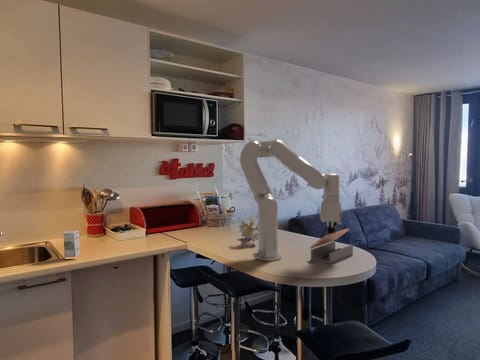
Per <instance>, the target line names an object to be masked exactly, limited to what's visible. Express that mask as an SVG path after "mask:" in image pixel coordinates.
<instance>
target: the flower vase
mask: <svg viewBox="0 0 480 360" xmlns="http://www.w3.org/2000/svg"><path fill="white" fill-rule="evenodd" d="M246 216H247V218H248V220H249V223H246V221H245V220H243V219H241V224H240V225H238V228H239V233H241V235H240V236H241V237H242V238H243V237H244V238H246V240H247V241H248V240H249V241H248V242H247V243H245V244H244V245H245V246H244V247H246V246H248V248H249V247H250V248H251V247H252V246H253V247H255V246H257V244H255V243H254V242H255V241H259V224H258V219H255V217H254V216H253V215H252V216H251V217H250V215H246ZM254 224H257V225H256V226H254ZM251 240H252V241H251Z"/></svg>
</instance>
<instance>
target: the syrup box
mask: <svg viewBox="0 0 480 360" xmlns="http://www.w3.org/2000/svg"><path fill="white" fill-rule="evenodd" d="M62 233H63V251H64V258H65V257H77V256H78V255H80V256H81V250H80V249H81V247H80V243H81V242H80V230H77V229H76V230H75V229H74V230H71V229H70V230H65V231H64V232H62Z"/></svg>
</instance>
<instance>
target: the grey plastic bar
mask: <svg viewBox="0 0 480 360" xmlns="http://www.w3.org/2000/svg"><path fill="white" fill-rule="evenodd" d="M341 248H342V247H338V248H335V250H333V251H336V250H339V249H341ZM333 251H330V252H328V253H325V254H322V255H321V259H326V258H329V253H331V252H333Z"/></svg>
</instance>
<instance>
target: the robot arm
mask: <svg viewBox="0 0 480 360" xmlns="http://www.w3.org/2000/svg"><path fill="white" fill-rule="evenodd" d="M258 158H275V159H276V160H277V161H278V162H279V163H281V164H282V165H283V166H284V167H285V168H286V169H288V170H289V171H291V172H292V173H294V174H295V175H298V176H299V177H300V178H301V179H303V180H304V181H306V182H307V185H308V186H309V187H310V188H312V189H314V190H322V189H323V195H321V199H323V200H321V204H320V212H319V213H320V215H319V218H320V220H321V223H324V224H325V225H326V227H327V233H328V234H331V233H335V232H336V231H335V230H336V227H337V226H338V225H342V220H343V210H342V203H341V201H340V176H339V174H338V173H326V174H324V173H321V172H320V171H319V170H317V168H315V167H314V166H313V165H311V164H310V163H309V162H308V161H307V160H305V159H304V158H303V157H301V156H300V155H299V154H298V153H296V152H295V151H294V150H293V149H292V148H290V147H289V146H288V145H287V144H286V143H284V141H282V140H281V139H273V140H267V141H264V140H263V141H257V140H250V141H248V142H247V143H245V145H244V146H243V148H242V150H241V151H240V157H239V161H240V166H241V169H242V173H243V174H244V177H245V179H246V182H247V184H248V187H249V190H250V191H251V193H252V196H253V197H254V199H255V200H254V201H256V204H257V207H258V208H257V209H258V210H257V211H258V212H257V213H258V217H257V218H258V219H257V221H258V222H257V225H258V224H259V233H258V234H259V236H258V237H259V239H258V249H257V252H254V253H253V254H252V256H253V258H256V259H257V260H260V261H265V262H267V261H268V262H270V261H272V262H274V261H278V260H280V259H281V258H282V255H281V254H280V253H279V249H278V248H279V246H278V244H279V243H278V241H279V238H278V232H279V231H278V212H279V211H278V206H279V205H278V202H277V200H276V198H275V196H274V195H273V192H272V190H271V188H270V185H269V184H268V183H269V182H268V180H267V179H266V178H265V176H264V173H263V172H262V170H261V167H260V165H259V163H258ZM328 234H327V235H328Z"/></svg>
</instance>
